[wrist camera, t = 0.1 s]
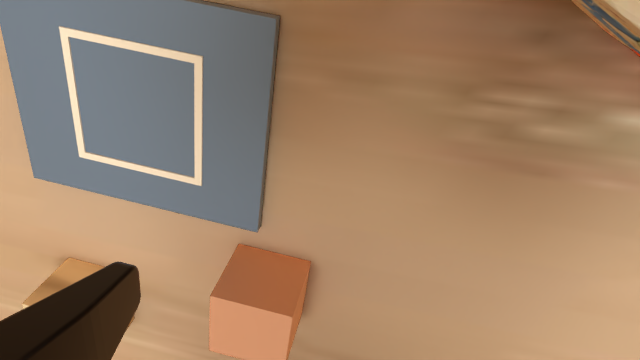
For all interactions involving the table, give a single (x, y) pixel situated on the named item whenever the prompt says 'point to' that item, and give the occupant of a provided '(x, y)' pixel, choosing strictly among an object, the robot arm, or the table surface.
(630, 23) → the stack of blocks
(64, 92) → the board
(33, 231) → the table surface
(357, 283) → the table surface
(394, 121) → the table surface
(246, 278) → the terracotta block
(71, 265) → the maple block
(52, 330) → the robot arm
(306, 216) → the table surface
